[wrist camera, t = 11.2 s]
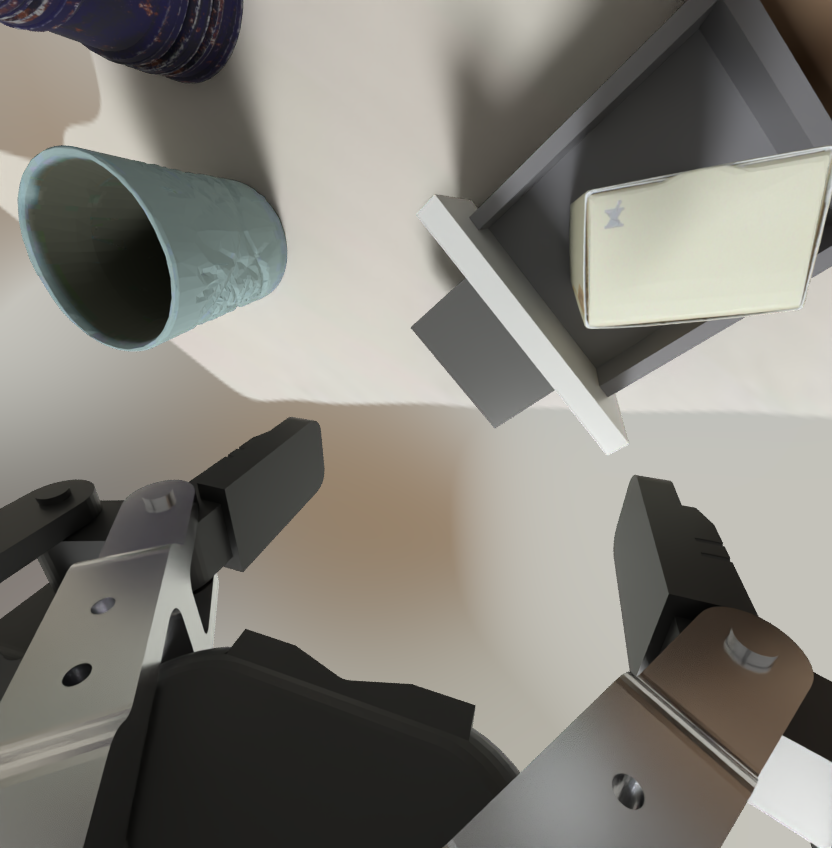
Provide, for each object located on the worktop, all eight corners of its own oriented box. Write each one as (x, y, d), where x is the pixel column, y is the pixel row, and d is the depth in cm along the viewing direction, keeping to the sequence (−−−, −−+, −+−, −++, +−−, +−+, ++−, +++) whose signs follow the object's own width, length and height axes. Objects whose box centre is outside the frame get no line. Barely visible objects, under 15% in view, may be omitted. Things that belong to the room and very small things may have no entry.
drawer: (402, 269, 29) (348, 287, 22) (681, -15, 20) (750, -150, 12) (534, 431, 31) (525, 497, 24) (844, 246, 22) (985, 261, 14)
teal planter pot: (199, 141, 30) (11, 103, 20) (317, 215, 30) (187, 215, 20) (178, 271, 35) (20, 294, 25) (278, 335, 35) (159, 384, 25)
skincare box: (569, 284, 25) (572, 334, 14) (568, 201, 23) (571, 190, 13) (697, 269, 23) (811, 316, 12) (707, 177, 21) (849, 139, 10)
